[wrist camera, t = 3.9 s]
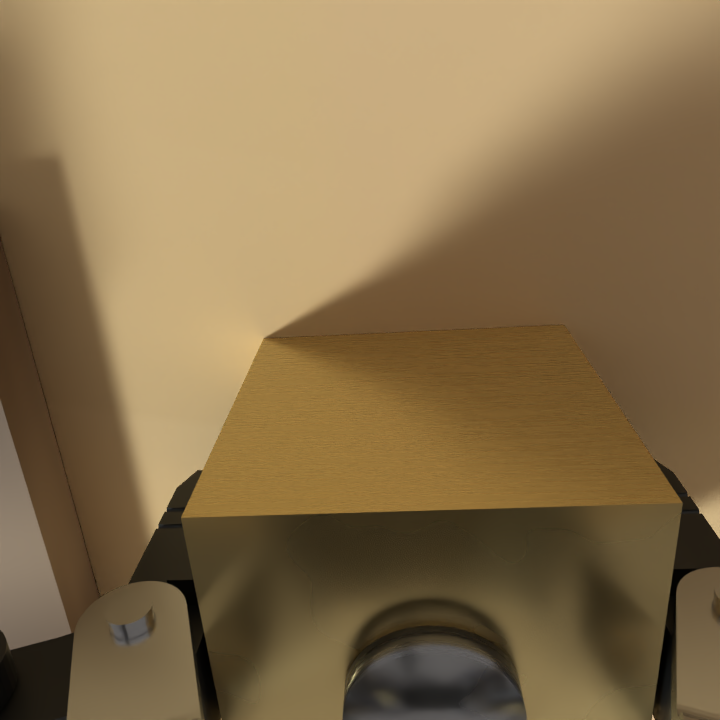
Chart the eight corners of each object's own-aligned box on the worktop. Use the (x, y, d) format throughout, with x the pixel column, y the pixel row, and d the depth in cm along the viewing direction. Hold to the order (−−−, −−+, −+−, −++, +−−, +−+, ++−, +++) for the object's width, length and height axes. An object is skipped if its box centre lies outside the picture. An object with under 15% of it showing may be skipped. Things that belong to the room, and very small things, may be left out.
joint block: (263, 338, 12) (170, 542, 7) (564, 324, 11) (699, 527, 6) (293, 573, 14) (238, 866, 9) (550, 567, 13) (645, 867, 8)
